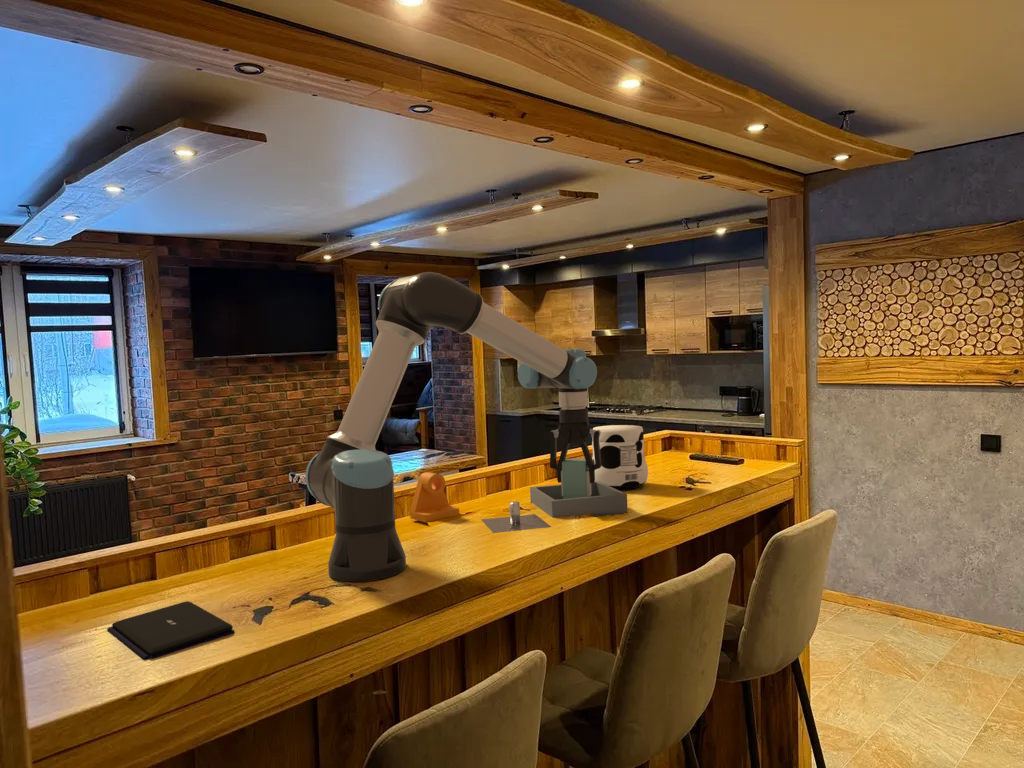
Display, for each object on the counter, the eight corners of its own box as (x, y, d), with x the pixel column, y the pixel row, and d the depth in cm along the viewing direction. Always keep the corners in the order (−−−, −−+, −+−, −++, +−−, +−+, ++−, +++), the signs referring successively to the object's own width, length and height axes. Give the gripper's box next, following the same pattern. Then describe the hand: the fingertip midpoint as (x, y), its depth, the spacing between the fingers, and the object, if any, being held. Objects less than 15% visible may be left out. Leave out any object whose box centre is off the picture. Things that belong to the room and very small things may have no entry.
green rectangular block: (586, 500, 184) (584, 462, 184) (563, 500, 186) (561, 462, 186) (589, 495, 190) (588, 458, 190) (567, 495, 192) (566, 458, 191)
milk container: (607, 479, 229) (605, 424, 228) (657, 483, 219) (655, 425, 218) (580, 489, 215) (578, 430, 214) (632, 494, 205) (630, 432, 204)
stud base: (493, 537, 163) (492, 511, 163) (481, 523, 177) (480, 499, 177) (551, 531, 167) (550, 505, 166) (535, 518, 180) (534, 494, 180)
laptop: (123, 670, 101) (122, 656, 101) (105, 629, 117) (104, 617, 117) (238, 640, 110) (238, 627, 110) (207, 606, 126) (206, 594, 126)
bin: (552, 521, 176) (551, 501, 176) (530, 505, 196) (530, 487, 195) (627, 513, 181) (627, 494, 181) (599, 498, 200) (598, 481, 200)
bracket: (426, 526, 177) (424, 478, 176) (410, 521, 183) (408, 474, 182) (461, 518, 184) (459, 472, 183) (445, 514, 189) (443, 469, 189)
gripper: (611, 405, 188) (614, 492, 189) (541, 407, 193) (544, 491, 194) (607, 408, 181) (610, 498, 182) (535, 409, 186) (538, 497, 187)
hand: (576, 494), depth 188 cm, fingers closed on green rectangular block, 6 cm apart
